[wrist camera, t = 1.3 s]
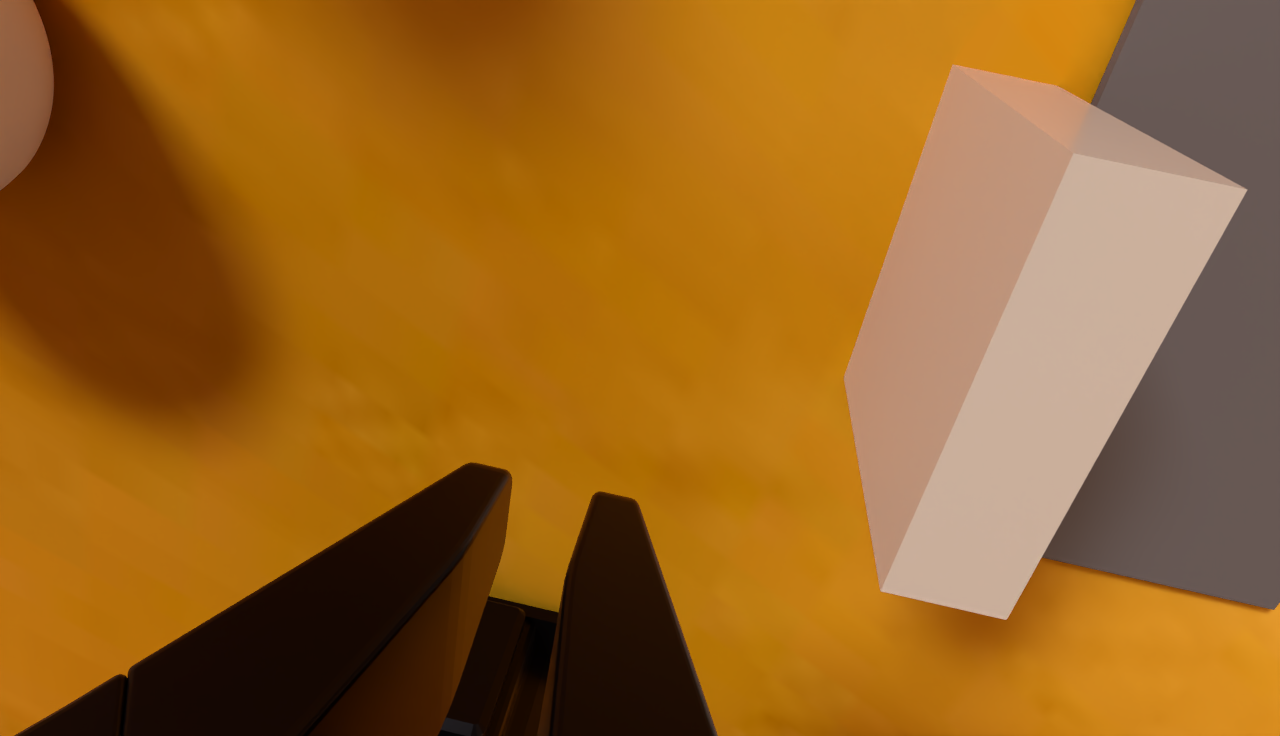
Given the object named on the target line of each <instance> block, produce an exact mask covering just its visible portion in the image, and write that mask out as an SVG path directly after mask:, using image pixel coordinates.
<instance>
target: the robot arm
mask: <svg viewBox="0 0 1280 736" xmlns="http://www.w3.org/2000/svg"><path fill="white" fill-rule="evenodd" d="M511 489H512V477H511V474H510V473H509V472H508V471H507V470H505V469H501V468H496V467H492V466H488V465H483V464H479V463H468V464H465V465H463V466H461V467H460V468H458V469H457V470H455V471H453V472H452V473H450V474H448V475H447V476H445V477H443V478H442V479H440V480H438V481H437V482H435V483H433V484H432V485H430V486H428V487H427V488H425V489H424V490H422V491H420V492H419V493H417V494H415V495H414V496H412V497H410V498H409V499H407V500H405V501H404V502H402V503H400V504H399V505H397V506H395V507H394V508H392V509H391V510H389V511H387V512H386V513H384V514H382V515H381V516H379V517H377V518H376V519H374V520H372V521H371V522H369V523H367V524H366V525H364V526H362V527H361V528H359V529H358V530H356V531H354V532H353V533H351V534H349V535H348V536H346V537H344V538H343V539H341V540H339V541H338V542H336V543H334V544H333V545H331V546H329V547H328V548H326V549H325V550H323V551H321V552H320V553H318V554H316V555H315V556H313V557H311V558H310V559H308V560H306V561H305V562H303V563H301V564H300V565H298V566H296V567H295V568H293V569H292V570H290V571H288V572H287V573H285V574H283V575H282V576H280V577H278V578H277V579H275V580H273V581H272V582H270V583H268V584H267V585H265V586H263V587H262V588H260V589H259V590H257V591H255V592H254V593H252V594H250V595H249V596H247V597H245V598H244V599H242V600H240V601H239V602H237V603H235V604H234V605H232V606H230V607H229V608H227V609H226V610H224V611H222V612H221V613H219V614H217V615H216V616H214V617H212V618H211V619H209V620H207V621H206V622H204V623H202V624H201V625H199V626H197V627H196V628H194V629H193V630H191V631H189V632H188V633H186V634H184V635H183V636H181V637H179V638H178V639H176V640H174V641H173V642H171V643H169V644H168V645H166V646H165V647H163V648H161V649H160V650H158V651H156V652H155V653H153V654H151V655H150V656H148V657H146V658H145V659H143V660H141V661H140V662H138V663H136V664H135V665H133V666H132V667H131V668H130V669H129V671H128V678H127V677H126V676H125V675H122V674H119V675H116V676H114V677H113V678H111V679H109V680H108V681H106V682H104V683H103V684H101V685H99V686H98V687H96V688H94V689H93V690H91V691H89V692H88V693H86V694H85V695H83V696H81V697H80V698H78V699H76V700H75V701H73V702H71V703H70V704H68V705H66V706H65V707H63V708H61V709H60V710H58V711H56V712H54V713H53V714H51V715H49V716H47V717H46V718H44V719H42V720H41V721H39V722H37V723H35V724H34V725H32V726H30V727H28V728H27V729H25V730H23V731H22V732H20V733H18V734H16V735H15V736H718V735H717V732H716V729H715V726H714V723H713V720H712V717H711V715H710V712H709V709H708V706H707V703H706V700H705V697H704V694H703V691H702V688H701V685H700V682H699V679H698V676H697V674H696V671H695V668H694V665H693V662H692V659H691V656H690V653H689V650H688V647H687V644H686V641H685V638H684V636H683V633H682V630H681V627H680V624H679V621H678V618H677V615H676V612H675V609H674V606H673V603H672V600H671V597H670V595H669V592H668V589H667V586H666V583H665V580H664V577H663V574H662V571H661V568H660V565H659V562H658V559H657V557H656V554H655V551H654V548H653V545H652V542H651V539H650V536H649V533H648V530H647V527H646V524H645V521H644V518H643V516H642V513H641V510H640V507H639V505H638V503H637V502H636V501H635V500H634V499H632V498H628V497H623V496H619V495H615V494H610V493H606V492H597V493H595V494H594V495H593V496H592V499H591V501H590V504H589V507H588V510H587V513H586V516H585V519H584V522H583V525H582V528H581V531H580V533H579V536H578V539H577V542H576V545H575V548H574V551H573V554H572V557H571V560H570V563H569V566H568V569H567V573H566V577H565V580H564V586H563V592H562V597H561V603H560V609H559V613H558V612H553V611H549V610H545V609H541V608H536V607H532V606H528V605H523V604H519V603H515V602H511V601H506V600H502V599H498V598H493V597H489V593H490V590H491V587H492V584H493V581H494V578H495V575H496V572H497V569H498V566H499V563H500V560H501V556H502V552H503V548H504V543H505V537H506V529H507V521H508V513H509V505H510V497H511Z"/></svg>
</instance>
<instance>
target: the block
mask: <svg viewBox="0 0 1280 736" xmlns="http://www.w3.org/2000/svg"><path fill="white" fill-rule="evenodd" d="M1246 192H1247V189H1246V188H1244V187H1242V186H1240V185H1238V184H1236V183H1235V182H1233V181H1231V180H1229V179H1227V178H1225V177H1224V176H1222V175H1220V174H1218V173H1216V172H1214V171H1213V170H1211V169H1209V168H1207V167H1205V166H1203V165H1202V164H1200V163H1198V162H1196V161H1194V160H1192V159H1190V158H1189V157H1187V156H1185V155H1183V154H1181V153H1179V152H1178V151H1176V150H1174V149H1172V148H1170V147H1168V146H1167V145H1165V144H1163V143H1161V142H1159V141H1157V140H1156V139H1154V138H1152V137H1150V136H1148V135H1146V134H1145V133H1143V132H1141V131H1139V130H1137V129H1135V128H1134V127H1132V126H1130V125H1128V124H1126V123H1124V122H1123V121H1121V120H1119V119H1117V118H1115V117H1113V116H1112V115H1110V114H1108V113H1106V112H1104V111H1102V110H1101V109H1099V108H1097V107H1095V106H1093V105H1091V104H1090V103H1088V102H1086V101H1084V100H1082V99H1080V98H1079V97H1077V96H1075V95H1073V94H1071V93H1069V92H1067V91H1066V90H1064V89H1062V88H1060V87H1058V86H1055V85H1050V84H1045V83H1040V82H1035V81H1031V80H1026V79H1021V78H1016V77H1011V76H1006V75H1002V74H997V73H992V72H987V71H982V70H977V69H972V68H968V67H963V66H958V65H952V68H951V71H950V74H949V77H948V80H947V83H946V85H945V88H944V91H943V94H942V97H941V100H940V103H939V106H938V108H937V111H936V114H935V117H934V120H933V123H932V126H931V129H930V131H929V134H928V137H927V140H926V143H925V146H924V149H923V152H922V154H921V157H920V160H919V163H918V166H917V169H916V172H915V175H914V177H913V180H912V183H911V186H910V189H909V192H908V195H907V197H906V200H905V203H904V206H903V209H902V212H901V215H900V218H899V220H898V223H897V226H896V229H895V232H894V235H893V238H892V241H891V243H890V246H889V249H888V252H887V255H886V258H885V261H884V264H883V266H882V269H881V272H880V275H879V278H878V281H877V284H876V287H875V289H874V292H873V295H872V298H871V301H870V304H869V307H868V310H867V312H866V315H865V318H864V321H863V324H862V327H861V330H860V333H859V335H858V338H857V341H856V344H855V347H854V350H853V353H852V356H851V358H850V361H849V364H848V367H847V370H846V373H845V376H844V381H845V387H846V393H847V399H848V404H849V410H850V416H851V422H852V428H853V434H854V439H855V445H856V451H857V457H858V463H859V469H860V474H861V480H862V486H863V492H864V498H865V504H866V510H867V515H868V521H869V527H870V533H871V539H872V545H873V550H874V556H875V562H876V568H877V574H878V580H879V585H880V591H882V592H886V593H891V594H895V595H899V596H904V597H908V598H912V599H917V600H921V601H925V602H930V603H934V604H939V605H943V606H947V607H952V608H956V609H960V610H965V611H969V612H973V613H978V614H982V615H986V616H991V617H995V618H999V619H1004V620H1007V618H1008V617H1009V615H1010V613H1011V611H1012V609H1013V608H1014V606H1015V604H1016V602H1017V601H1018V599H1019V597H1020V595H1021V593H1022V592H1023V590H1024V588H1025V586H1026V584H1027V583H1028V581H1029V579H1030V577H1031V576H1032V574H1033V572H1034V570H1035V568H1036V567H1037V565H1038V563H1039V561H1040V559H1041V558H1042V556H1043V554H1044V552H1045V551H1046V549H1047V547H1048V545H1049V543H1050V542H1051V540H1052V538H1053V536H1054V534H1055V533H1056V531H1057V529H1058V527H1059V526H1060V524H1061V522H1062V520H1063V518H1064V517H1065V515H1066V513H1067V511H1068V509H1069V508H1070V506H1071V504H1072V502H1073V501H1074V499H1075V497H1076V495H1077V493H1078V492H1079V490H1080V488H1081V486H1082V484H1083V483H1084V481H1085V479H1086V477H1087V476H1088V474H1089V472H1090V470H1091V468H1092V467H1093V465H1094V463H1095V461H1096V459H1097V458H1098V456H1099V454H1100V452H1101V451H1102V449H1103V447H1104V445H1105V443H1106V442H1107V440H1108V438H1109V436H1110V434H1111V433H1112V431H1113V429H1114V427H1115V425H1116V424H1117V422H1118V420H1119V418H1120V417H1121V415H1122V413H1123V411H1124V409H1125V408H1126V406H1127V404H1128V402H1129V400H1130V399H1131V397H1132V395H1133V393H1134V392H1135V390H1136V388H1137V386H1138V384H1139V383H1140V381H1141V379H1142V377H1143V375H1144V374H1145V372H1146V370H1147V368H1148V367H1149V365H1150V363H1151V361H1152V359H1153V358H1154V356H1155V354H1156V352H1157V350H1158V349H1159V347H1160V345H1161V343H1162V342H1163V340H1164V338H1165V336H1166V334H1167V333H1168V331H1169V329H1170V327H1171V325H1172V324H1173V322H1174V320H1175V318H1176V317H1177V315H1178V313H1179V311H1180V309H1181V308H1182V306H1183V304H1184V302H1185V300H1186V299H1187V297H1188V295H1189V293H1190V292H1191V290H1192V288H1193V286H1194V284H1195V283H1196V281H1197V279H1198V277H1199V275H1200V274H1201V272H1202V270H1203V268H1204V267H1205V265H1206V263H1207V261H1208V259H1209V258H1210V256H1211V254H1212V252H1213V250H1214V249H1215V247H1216V245H1217V243H1218V242H1219V240H1220V238H1221V236H1222V234H1223V233H1224V231H1225V229H1226V227H1227V225H1228V224H1229V222H1230V220H1231V218H1232V217H1233V215H1234V213H1235V211H1236V209H1237V208H1238V206H1239V204H1240V202H1241V200H1242V199H1243V197H1244V195H1245V193H1246Z"/></svg>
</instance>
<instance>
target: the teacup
mask: <svg viewBox="0 0 1280 736" xmlns="http://www.w3.org/2000/svg"><path fill="white" fill-rule="evenodd" d="M53 95H54V73H53V63H52V56H51V51H50V46H49V42H48V38H47V35H46V31H45V28H44V25H43V23H42V20H41V17H40V15H39V12H38V10H37V8H36V5H35V3H34V1H33V0H0V190H2V189H3V188H4V187H5V186H6V185H8V184H9V183H10V182H11V181H12V180H13V179H14V178H16V177H17V176H18V175H19V174H20V173H21V172H22V171H23V170H24V169H25V168H26V166H27V165H28V164H29V163H30V161H31V160H32V158H33V157H34V155H35V154H36V152H37V150H38V148H39V146H40V144H41V142H42V140H43V137H44V135H45V132H46V130H47V126H48V123H49V119H50V115H51V111H52V104H53Z"/></svg>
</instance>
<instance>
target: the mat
mask: <svg viewBox="0 0 1280 736" xmlns="http://www.w3.org/2000/svg"><path fill="white" fill-rule="evenodd" d="M1091 105H1093V106H1095V107H1097V108H1099V109H1101V110H1102V111H1104V112H1106V113H1108V114H1110V115H1112V116H1113V117H1115V118H1117V119H1119V120H1121V121H1123V122H1124V123H1126V124H1128V125H1130V126H1132V127H1134V128H1135V129H1137V130H1139V131H1141V132H1143V133H1145V134H1146V135H1148V136H1150V137H1152V138H1154V139H1156V140H1157V141H1159V142H1161V143H1163V144H1165V145H1167V146H1168V147H1170V148H1172V149H1174V150H1176V151H1178V152H1179V153H1181V154H1183V155H1185V156H1187V157H1189V158H1190V159H1192V160H1194V161H1196V162H1198V163H1200V164H1202V165H1203V166H1205V167H1207V168H1209V169H1211V170H1213V171H1214V172H1216V173H1218V174H1220V175H1222V176H1224V177H1225V178H1227V179H1229V180H1231V181H1233V182H1235V183H1236V184H1238V185H1240V186H1242V187H1244V188H1246V189H1247V192H1246V193H1245V195H1244V197H1243V199H1242V200H1241V202H1240V204H1239V206H1238V208H1237V209H1236V211H1235V213H1234V215H1233V217H1232V218H1231V220H1230V222H1229V224H1228V225H1227V227H1226V229H1225V231H1224V233H1223V234H1222V236H1221V238H1220V240H1219V242H1218V243H1217V245H1216V247H1215V249H1214V250H1213V252H1212V254H1211V256H1210V258H1209V259H1208V261H1207V263H1206V265H1205V267H1204V268H1203V270H1202V272H1201V274H1200V275H1199V277H1198V279H1197V281H1196V283H1195V284H1194V286H1193V288H1192V290H1191V292H1190V293H1189V295H1188V297H1187V299H1186V300H1185V302H1184V304H1183V306H1182V308H1181V309H1180V311H1179V313H1178V315H1177V317H1176V318H1175V320H1174V322H1173V324H1172V325H1171V327H1170V329H1169V331H1168V333H1167V334H1166V336H1165V338H1164V340H1163V342H1162V343H1161V345H1160V347H1159V349H1158V350H1157V352H1156V354H1155V356H1154V358H1153V359H1152V361H1151V363H1150V365H1149V367H1148V368H1147V370H1146V372H1145V374H1144V375H1143V377H1142V379H1141V381H1140V383H1139V384H1138V386H1137V388H1136V390H1135V392H1134V393H1133V395H1132V397H1131V399H1130V400H1129V402H1128V404H1127V406H1126V408H1125V409H1124V411H1123V413H1122V415H1121V417H1120V418H1119V420H1118V422H1117V424H1116V425H1115V427H1114V429H1113V431H1112V433H1111V434H1110V436H1109V438H1108V440H1107V442H1106V443H1105V445H1104V447H1103V449H1102V451H1101V452H1100V454H1099V456H1098V458H1097V459H1096V461H1095V463H1094V465H1093V467H1092V468H1091V470H1090V472H1089V474H1088V476H1087V477H1086V479H1085V481H1084V483H1083V484H1082V486H1081V488H1080V490H1079V492H1078V493H1077V495H1076V497H1075V499H1074V501H1073V502H1072V504H1071V506H1070V508H1069V509H1068V511H1067V513H1066V515H1065V517H1064V518H1063V520H1062V522H1061V524H1060V526H1059V527H1058V529H1057V531H1056V533H1055V534H1054V536H1053V538H1052V540H1051V542H1050V543H1049V545H1048V547H1047V549H1046V551H1045V552H1044V554H1043V556H1042V557H1043V558H1047V559H1052V560H1056V561H1060V562H1065V563H1069V564H1074V565H1078V566H1083V567H1087V568H1091V569H1096V570H1100V571H1105V572H1109V573H1114V574H1118V575H1122V576H1127V577H1131V578H1136V579H1140V580H1144V581H1149V582H1153V583H1158V584H1162V585H1167V586H1171V587H1175V588H1180V589H1184V590H1189V591H1193V592H1197V593H1202V594H1206V595H1211V596H1215V597H1220V598H1224V599H1228V600H1233V601H1237V602H1242V603H1246V604H1250V605H1255V606H1259V607H1264V608H1268V609H1273V610H1274V609H1275V608H1276V606H1277V605H1278V604H1279V603H1280V0H1136V2H1135V4H1134V7H1133V9H1132V11H1131V14H1130V16H1129V18H1128V20H1127V23H1126V25H1125V27H1124V30H1123V32H1122V34H1121V36H1120V39H1119V41H1118V43H1117V46H1116V48H1115V50H1114V52H1113V55H1112V57H1111V59H1110V61H1109V64H1108V66H1107V68H1106V71H1105V73H1104V75H1103V77H1102V80H1101V82H1100V84H1099V87H1098V89H1097V91H1096V93H1095V96H1094V98H1093V100H1092V103H1091Z"/></svg>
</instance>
